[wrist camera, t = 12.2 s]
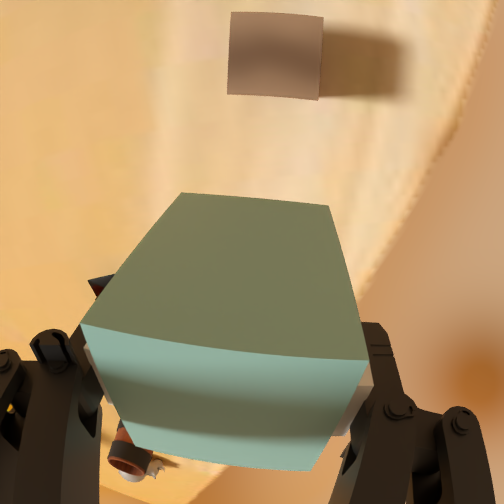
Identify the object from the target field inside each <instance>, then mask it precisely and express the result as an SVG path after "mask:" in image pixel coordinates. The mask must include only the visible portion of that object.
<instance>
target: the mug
mask: <svg viewBox="0 0 504 504" xmlns="http://www.w3.org/2000/svg"><path fill="white" fill-rule="evenodd" d="M152 453H153V451H152V450H148V449H144V448H141V447H137V446H135V445H134V443H133V441H132V439H131V437H130V435H129V434H128V432H127V430H126V428H125V426H124V424H123V422H122V420H121V419H120V421H119V424H118V428H117V434H116V437H115V440H114V441H113V442H112V446H111V449H110V452H109V455H108V462H109V463H110V464H111V465H112V466H113V467H115V468H117V469H118V470H120V471H123V472H125V473H128V474H131V475H135V476H143V475H144V474H146V471H147V468H148V466H149V463H150V461H151V459H152Z"/></svg>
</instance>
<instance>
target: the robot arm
mask: <svg viewBox="0 0 504 504" xmlns="http://www.w3.org/2000/svg"><path fill="white" fill-rule="evenodd" d="M361 325H362V329H363V334H364V338H365V343H366V347H367V352H368V356H369V363H368V365H367V367H366V369H365V371H364V373H363V376H362V378H361V380H360V382H359V384H358V386H357V388H356V390H355V392H354V394H353V396H352V398H351V400H350V402H349V404H348V406H347V408H346V410H345V412H344V414H343V415H342V417H341V419H340V421H339V423H338V425H337V426H336V428H335V430H334V432H333V434H332V435H331V436H345V435H346V433H347V432H348V430H349V429H350V433H351V441H350V442H349V443H348V445H347V446H346V448H345V449H344V451H343V452H342V454H341V456H340V457H342V458H343V457H344V458H343V461H342V464H341V468H340V471H339V474H338V477H337V480H336V483H335V486H334V489H333V493H332V495H331V498H330V501H329V503H328V504H405V502H406V504H496V503H495V496H494V490H493V484H492V478H491V473H490V468H489V463H488V459H487V454H486V449H485V445H484V441H483V437H482V433H481V429H480V425H479V422H478V420H477V418H476V416H475V415H474V414H473V412H471V411H470V410H469V409H467V408H465V407H460V406H456V407H452V408H450V409H449V410H447V411H446V412H445V413H444V414H443V415H442V414H437V413H433V412H429V411H424V410H422V409H419V408H417V406H416V404H415V403H414V401H413V400H412V399H411V398H410V397H408V396H407V395H406V394H404V391H403V388H402V384H401V380H400V376H399V372H398V369H397V366H396V362H395V358H394V357H393V351H392V348H391V344H390V341H389V337H388V334H387V332H386V331H385V330H384V329H383V327H382V326H381V325H380V324H379V323H370V322H361ZM29 345H30V347H31V349H32V351H33V352H34V354H35V356H36V358H37V360H38V361H22V360H21V359H20V357H19V355H18V353H17V352H16V351H14V350H12V349H5V350H1V351H0V504H99V466H100V442H101V426H102V407H101V405H100V402H101V399H102V397H103V395H104V396H105V398H106V400H107V402H108V404H111V405H114V404H113V402H112V400H111V398H110V396H109V394H108V392H107V389H106V387H105V385H104V383H103V381H102V378H101V376H100V374H99V371H98V369H97V367H96V364H95V362H94V359H93V357H92V354H91V352H90V349H89V347H88V344H87V342H86V339H85V336H84V334H83V331H82V328H81V325H80V324H79V325H78V327H77V328H76V330H75V331H74V333H73V334H72V336H71V337H70V339H69V338H68V336H67V334H66V333H65V332H63V331H61V330H58V329H49V330H45V331H43V332H41V333H39V334H37V335H36V336H35V337H34V338H33V339H32V341H31V343H30V344H29ZM10 404H11V405H12V409H11V410H10V411H7V409H8V407H9V405H10Z"/></svg>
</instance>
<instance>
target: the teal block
mask: <svg viewBox="0 0 504 504" xmlns="http://www.w3.org/2000/svg"><path fill="white" fill-rule="evenodd" d="M80 325H81V328H82V331H83V334H84V336H85V339H86V342H87V344H88V347H89V349H90V352H91V354H92V357H93V359H94V362H95V364H96V367H97V369H98V371H99V374H100V376H101V378H102V381H103V383H104V385H105V387H106V389H107V392H108V394H109V396H110V398H111V400H112V402H113V404H114V406H115V408H116V410H117V412H118V414H119V416H120V418H121V420H122V422H123V424H124V426H125V428H126V430H127V432H128V434H129V435H130V437H131V439H132V441H133V443H134V445H135V446H137V447H141V448H144V449H148V450H152V451H156V452H161V453H165V454H169V455H174V456H179V457H184V458H189V459H194V460H200V461H205V462H212V463H218V464H225V465H232V466H241V467H250V468H260V469H274V470H290V471H291V470H292V471H311V469H312V467H313V466H314V464H315V463H316V461H317V459H318V458H319V456H320V454H321V453H322V451H323V449H324V448H325V446H326V444H327V442H328V441H329V439H330V437H331V435H332V434H333V432H334V430H335V428H336V426H337V425H338V423H339V421H340V419H341V417H342V415H343V414H344V412H345V410H346V408H347V406H348V404H349V402H350V400H351V398H352V396H353V394H354V392H355V390H356V388H357V386H358V384H359V382H360V380H361V378H362V376H363V373H364V371H365V369H366V367H367V365H368V363H369V356H368V352H367V347H366V343H365V338H364V334H363V329H362V325H361V321H360V317H359V313H358V308H357V304H356V300H355V297H354V293H353V289H352V285H351V281H350V277H349V274H348V270H347V266H346V263H345V259H344V256H343V252H342V249H341V245H340V242H339V238H338V235H337V232H336V228H335V225H334V222H333V218H332V215H331V212H330V209H329V206H327V205H319V204H310V203H300V202H291V201H281V200H270V199H260V198H248V197H236V196H224V195H210V194H196V193H181V194H180V195H179V196H178V197H177V198H176V199H175V201H174V202H173V203H172V204H171V205H170V206H169V208H168V209H167V210H166V211H165V212H164V214H163V215H162V216H161V217H160V218H159V219H158V221H157V222H156V223H155V224H154V226H153V227H152V228H151V229H150V230H149V232H148V233H147V234H146V235H145V237H144V238H143V239H142V240H141V242H140V243H139V244H138V245H137V247H136V248H135V249H134V250H133V252H132V253H131V254H130V255H129V257H128V258H127V259H126V261H125V262H124V263H123V264H122V266H121V267H120V268H119V270H118V271H117V272H116V274H115V275H114V276H113V278H112V279H111V280H110V282H109V283H108V284H107V286H106V287H105V288H104V290H103V291H102V292H101V294H100V295H99V296H98V298H97V299H96V301H95V302H94V303H93V305H92V306H91V308H90V309H89V310H88V312H87V313H86V315H85V316H84V318H83V319H82V320H81V322H80Z"/></svg>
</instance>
